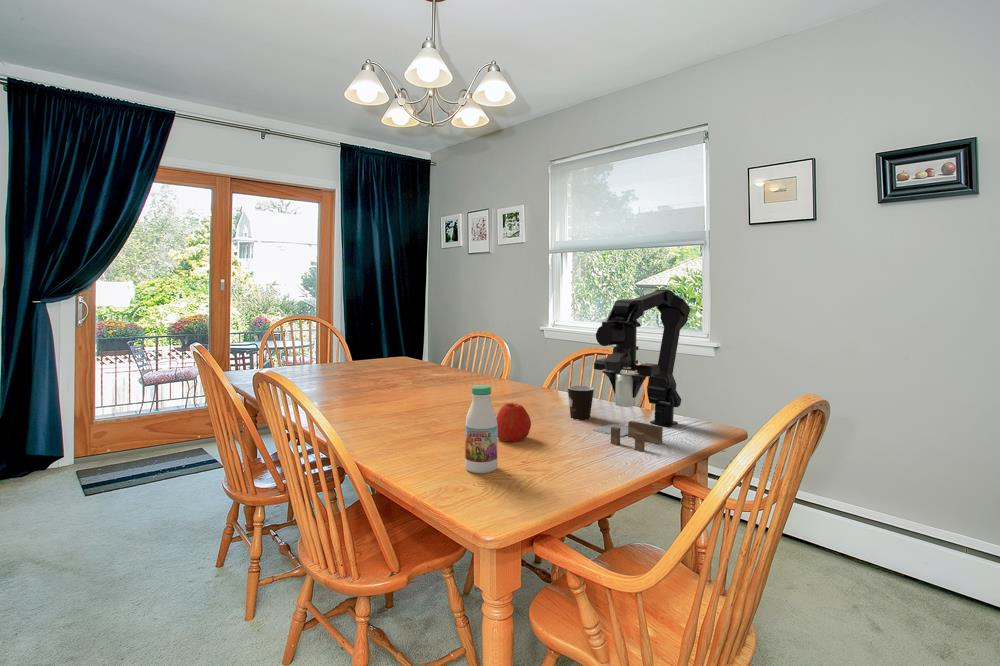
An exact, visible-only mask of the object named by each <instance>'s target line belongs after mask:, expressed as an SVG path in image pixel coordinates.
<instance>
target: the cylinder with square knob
mask: <svg viewBox="0 0 1000 666" xmlns="http://www.w3.org/2000/svg"><path fill="white" fill-rule="evenodd" d="M631 375H635V373H634V372H633V373H632V372H620V373H616V391H615V393H614V396H615V398H614V400H615V403H614V404H615V406H617V407H622V408H632V407H634V406H635V405H636V397H635V398H633V379H632V377H631Z"/></svg>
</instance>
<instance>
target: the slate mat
mask: <svg viewBox="0 0 1000 666" xmlns="http://www.w3.org/2000/svg"><path fill="white" fill-rule="evenodd" d="M612 427H618V428H620V438H624V437H626V436H628V426H625V425H624V426H623V425H620V424H615V423H610V424H609V423H608V424H605V425H603V426H599V427H595V428H593V430H592V431H594V430H597V431H596V432H598V431H601V432H600V433H602V432H605V433H604V434H606V433H609V434H608V435H610V434H611V428H612ZM625 435H626V436H625ZM623 436H624V437H623Z"/></svg>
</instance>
